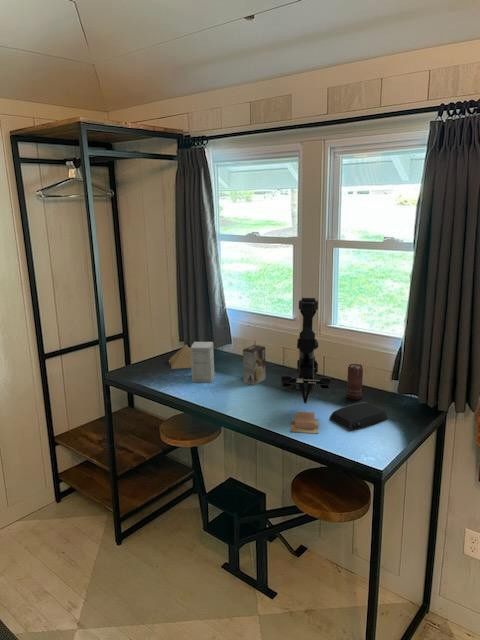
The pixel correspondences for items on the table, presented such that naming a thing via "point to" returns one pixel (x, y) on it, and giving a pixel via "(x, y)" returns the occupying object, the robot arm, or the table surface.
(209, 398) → the table surface
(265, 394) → the table surface
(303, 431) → the brass plate
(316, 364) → the robot arm
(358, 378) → the can
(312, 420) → the block
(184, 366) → the model pyramid
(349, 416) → the external hard drive
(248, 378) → the coffee box
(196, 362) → the supplement box
